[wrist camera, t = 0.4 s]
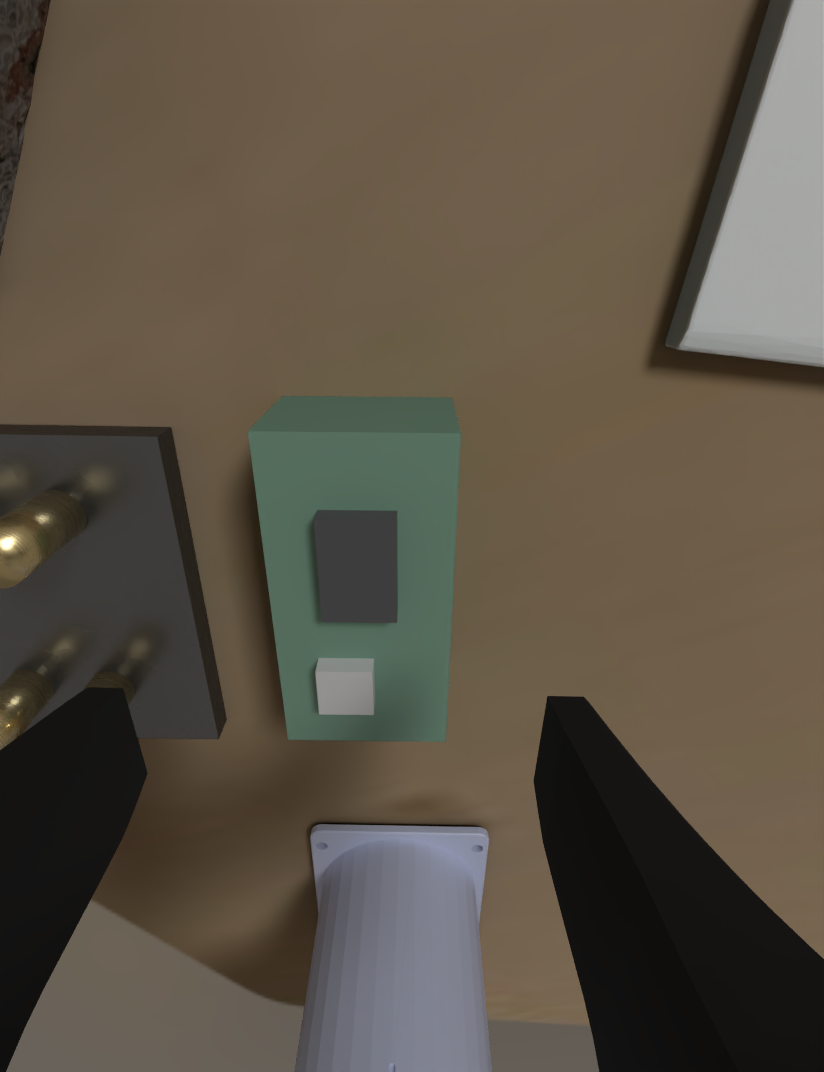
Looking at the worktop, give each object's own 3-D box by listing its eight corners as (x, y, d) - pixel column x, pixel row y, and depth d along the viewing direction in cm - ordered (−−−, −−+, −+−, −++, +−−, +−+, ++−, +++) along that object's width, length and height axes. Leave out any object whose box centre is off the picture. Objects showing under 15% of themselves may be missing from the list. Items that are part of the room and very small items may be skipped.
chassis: (226, 719, 22) (189, 808, 18) (-22, 715, 22) (-106, 803, 18) (171, 427, 17) (103, 473, 13) (-157, 422, 17) (-315, 466, 13)
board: (440, 659, 21) (446, 757, 17) (310, 658, 21) (284, 755, 17) (451, 395, 16) (462, 440, 12) (284, 394, 16) (240, 438, 12)
